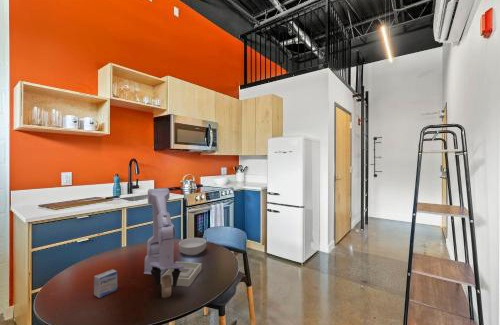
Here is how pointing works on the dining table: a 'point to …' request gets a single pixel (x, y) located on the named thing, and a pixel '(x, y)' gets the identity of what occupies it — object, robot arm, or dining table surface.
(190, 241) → the cereal bowl
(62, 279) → the dining table surface
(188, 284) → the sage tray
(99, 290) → the medicine box
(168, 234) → the robot arm
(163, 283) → the birch peg
